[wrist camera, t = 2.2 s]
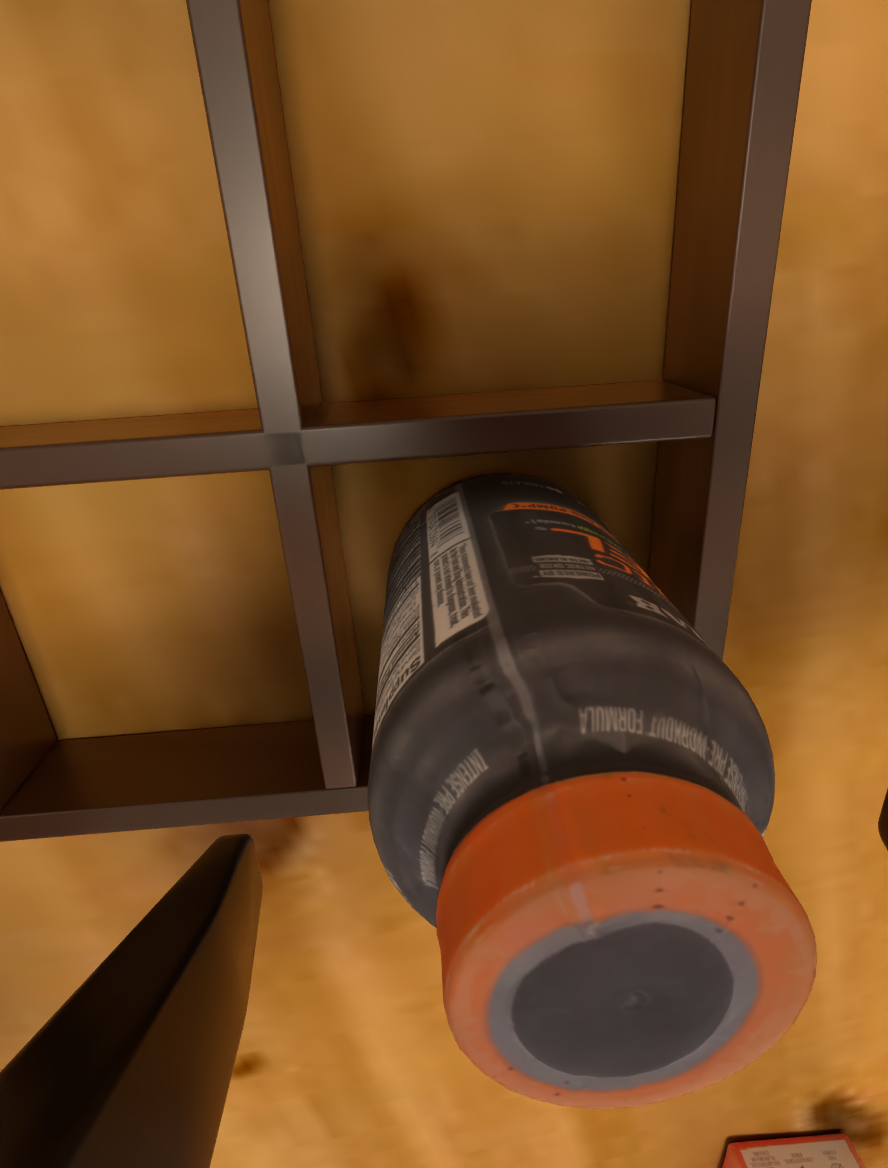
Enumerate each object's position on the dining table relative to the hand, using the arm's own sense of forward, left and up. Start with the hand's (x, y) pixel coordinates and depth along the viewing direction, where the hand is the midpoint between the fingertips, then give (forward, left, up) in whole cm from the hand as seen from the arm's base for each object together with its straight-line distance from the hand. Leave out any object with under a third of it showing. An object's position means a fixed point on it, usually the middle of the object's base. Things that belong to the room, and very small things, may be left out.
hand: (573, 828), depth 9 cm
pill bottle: (0, 0, -9) cm, 9 cm away
